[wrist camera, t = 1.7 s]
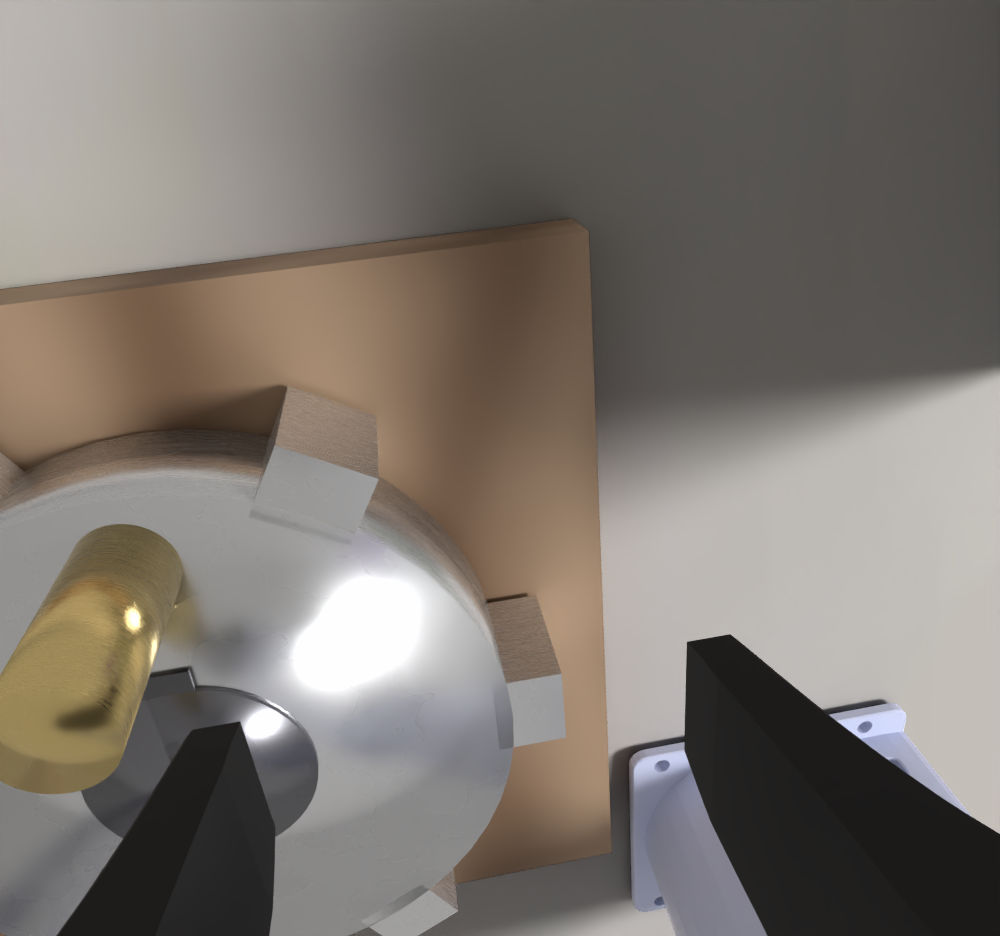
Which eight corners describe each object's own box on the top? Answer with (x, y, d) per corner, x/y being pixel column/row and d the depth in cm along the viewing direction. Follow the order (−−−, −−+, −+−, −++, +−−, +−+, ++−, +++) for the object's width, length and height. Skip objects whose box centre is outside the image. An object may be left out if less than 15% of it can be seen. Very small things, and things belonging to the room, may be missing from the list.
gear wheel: (555, 819, 25) (624, 1090, 18) (2, 927, 23) (-138, 1266, 17) (515, 353, 18) (605, 527, 11) (-287, 465, 16) (-724, 742, 10)
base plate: (572, 218, 18) (591, 233, 17) (599, 814, 28) (613, 858, 26) (-387, 337, 16) (-462, 365, 15) (-8, 933, 26) (-30, 987, 24)
